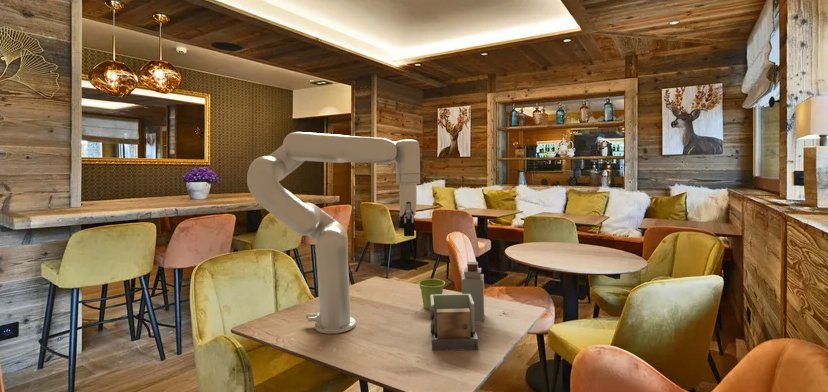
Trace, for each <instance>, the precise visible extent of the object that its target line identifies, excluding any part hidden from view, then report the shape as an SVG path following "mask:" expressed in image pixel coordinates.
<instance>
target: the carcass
mask: <svg viewBox="0 0 828 392" xmlns="http://www.w3.org/2000/svg"><path fill="white" fill-rule="evenodd" d="M431 306H433V310H434V319H433V324H434V333H435V331H437V309H464V308H469V310H470V331H472V332H475V331H476V330H475V329H476V326H475V325H476V322H475V306H474V301H473V299H472V296H471V294H462V293H442V294H434V295H431Z"/></svg>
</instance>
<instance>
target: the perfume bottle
mask: <svg viewBox="0 0 828 392" xmlns="http://www.w3.org/2000/svg"><path fill="white" fill-rule="evenodd" d="M466 266H467V267H464V268H463V273H462V277H461V279H460V280H461V294H471V296H472V299H473V301H474V306H475V323H476V322H477V323H484V322H485V321H484V320H485V275H484V273H482V267H479V262H478V261H468V262H467V264H466Z"/></svg>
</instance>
